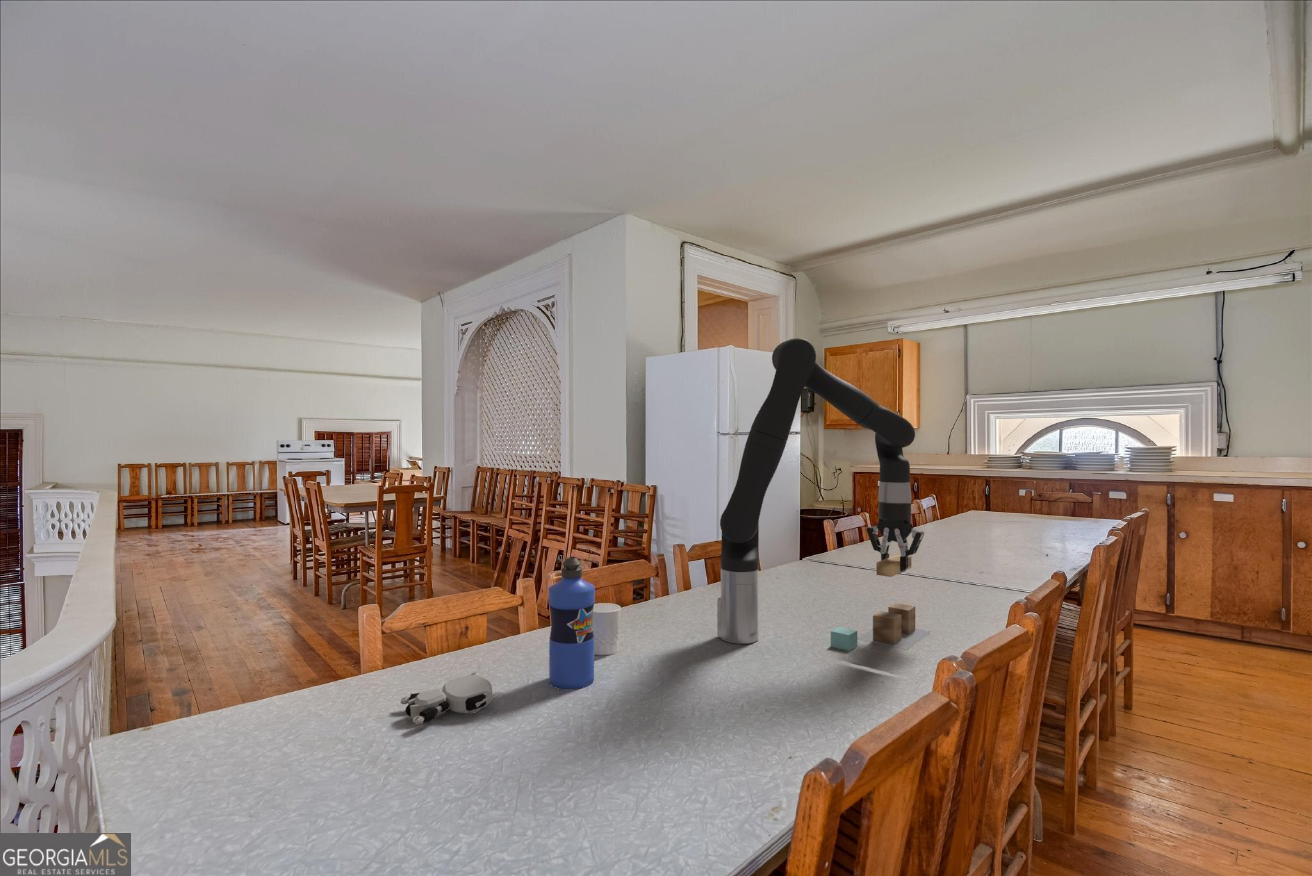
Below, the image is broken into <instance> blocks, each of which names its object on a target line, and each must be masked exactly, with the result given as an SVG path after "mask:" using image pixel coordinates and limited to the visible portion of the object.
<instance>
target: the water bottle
mask: <svg viewBox="0 0 1312 876" xmlns="http://www.w3.org/2000/svg"><path fill="white" fill-rule="evenodd" d="M581 564H582V562H581V560H579V559H578V558H577V557H575V556H569V557H567V558H566V559H565V560H564V561H563V562H562V563H561V565H562V566H563V567H562V568H561V571H560V572H561V579H560V580H559V581H558V582H556V583H554V584H551V585H550V586H549V587H548V605H549V612H550V621H551V622H550V623H551V626H550V632H549V633H550V634H549V640H548V641H549V642H548V644H549V647H548V652H549V653H548V657H549V658H548V660H549V661H548V663H549V664H548V665H549V666H548V667H549V668H548V670H549V671H548V672H549V673H548V674H549V678H548V680H549V681H548V682H549V685H550V686H551V685H552V686H551V687H553V688H555V687H556V688H555V689H558V688H559V689H558V690H564V689H573V690H580V689H584V688H587V687H589V686H591V685H592V684H593V683H594V682H593V681H595V654H594V635H593V627H592V617H593V608H594V604H596V603H595V602H596V586H595V585H594V584H592V583H590V582H588V581H586V580H584V579H583V578H582V577H583V567H580V566H581ZM583 687H584V688H583Z"/></svg>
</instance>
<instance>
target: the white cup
mask: <svg viewBox="0 0 1312 876" xmlns="http://www.w3.org/2000/svg"><path fill="white" fill-rule="evenodd" d="M621 614H622V607H621V606H620V605H618V604H616V603H610V602H607V603H606V602H604V603H603V602H600V603H594V608H593V617H592V627H593V635H594V656H596V655H597V656H610V655H613V654H616V653H618V652H619V648H620V646H619V645H620V631H621Z"/></svg>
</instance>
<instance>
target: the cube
mask: <svg viewBox="0 0 1312 876" xmlns="http://www.w3.org/2000/svg"><path fill="white" fill-rule="evenodd" d="M857 638H858V630H855V629H851V628H846V627H843V626H838V627H836V628H834V629H832V630H831V631H830V647H831V648H835V649H838V650H843V651H848V652H850V651H852V650H854V649H855V648H856V647H858V639H857Z"/></svg>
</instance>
